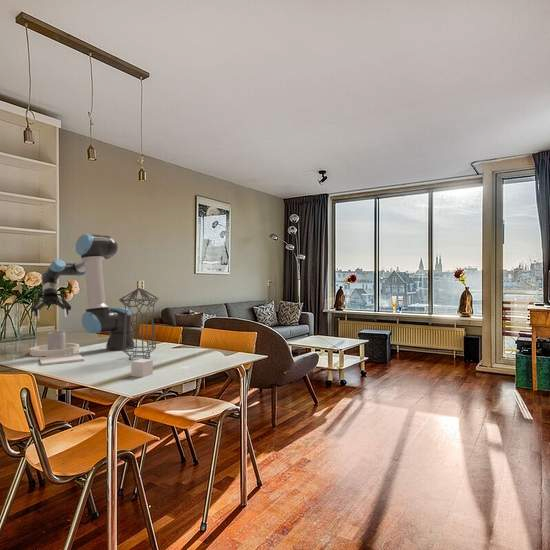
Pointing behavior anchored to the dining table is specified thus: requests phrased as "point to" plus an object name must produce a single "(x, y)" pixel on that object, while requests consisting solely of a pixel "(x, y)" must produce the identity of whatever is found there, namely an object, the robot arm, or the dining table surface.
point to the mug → (56, 340)
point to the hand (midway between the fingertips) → (52, 319)
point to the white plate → (44, 350)
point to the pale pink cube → (141, 367)
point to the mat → (60, 359)
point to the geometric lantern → (136, 321)
